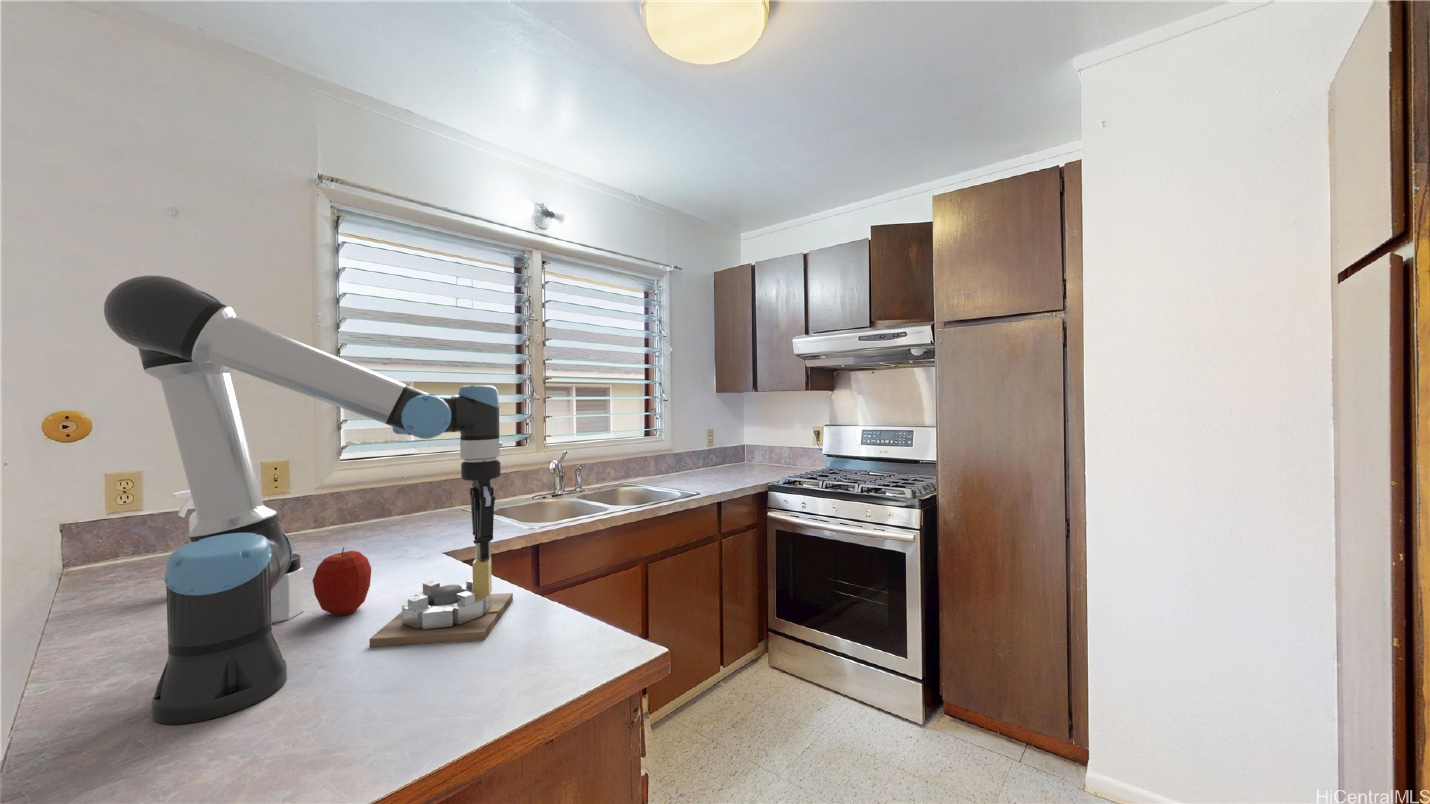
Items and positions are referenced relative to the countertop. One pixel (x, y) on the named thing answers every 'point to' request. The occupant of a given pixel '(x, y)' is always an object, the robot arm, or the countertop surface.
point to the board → (466, 631)
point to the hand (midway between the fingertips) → (483, 572)
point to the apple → (342, 582)
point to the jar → (288, 593)
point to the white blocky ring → (468, 605)
